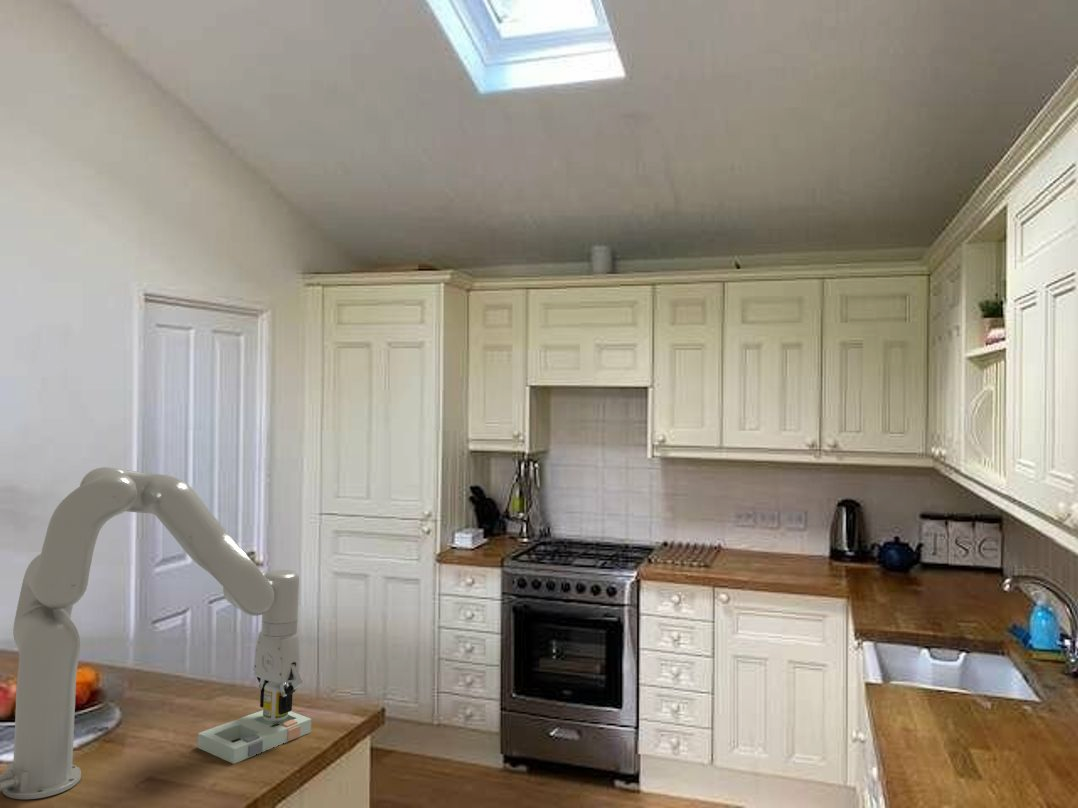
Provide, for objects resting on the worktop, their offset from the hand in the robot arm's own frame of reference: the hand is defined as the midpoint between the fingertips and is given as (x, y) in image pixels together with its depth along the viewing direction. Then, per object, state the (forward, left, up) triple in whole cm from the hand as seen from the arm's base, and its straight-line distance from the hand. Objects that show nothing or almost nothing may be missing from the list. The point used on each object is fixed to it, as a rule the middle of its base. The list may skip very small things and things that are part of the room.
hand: (275, 708), depth 180 cm
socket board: (-5, 0, -5) cm, 7 cm away
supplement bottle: (0, 0, -2) cm, 2 cm away
